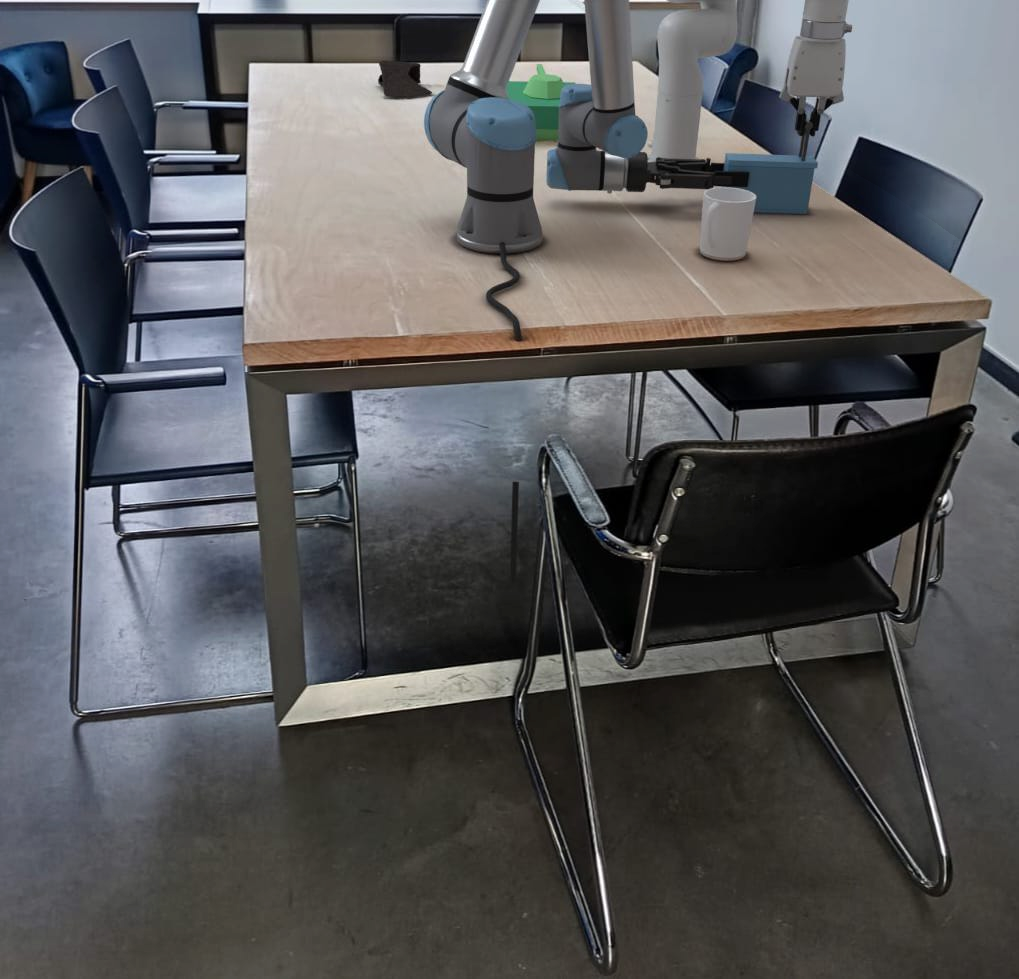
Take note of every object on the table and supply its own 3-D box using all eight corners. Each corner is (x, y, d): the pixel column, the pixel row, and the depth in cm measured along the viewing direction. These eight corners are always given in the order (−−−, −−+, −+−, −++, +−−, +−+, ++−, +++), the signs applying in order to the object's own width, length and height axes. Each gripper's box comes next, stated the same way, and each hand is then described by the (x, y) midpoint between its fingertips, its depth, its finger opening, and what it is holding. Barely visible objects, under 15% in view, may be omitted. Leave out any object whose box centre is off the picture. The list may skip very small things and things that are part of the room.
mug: (713, 241, 197) (720, 184, 192) (757, 252, 193) (765, 194, 187) (681, 256, 190) (687, 197, 185) (726, 268, 185) (733, 208, 180)
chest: (802, 206, 217) (809, 161, 212) (807, 214, 213) (814, 168, 208) (719, 203, 217) (724, 158, 213) (722, 211, 213) (728, 165, 208)
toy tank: (572, 60, 278) (587, 89, 248) (570, 110, 284) (584, 145, 254) (503, 59, 277) (509, 88, 247) (502, 109, 283) (508, 143, 253)
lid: (811, 161, 212) (819, 117, 208) (817, 168, 208) (824, 123, 204) (724, 158, 213) (730, 114, 208) (728, 165, 208) (734, 120, 204)
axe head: (443, 87, 294) (392, 77, 287) (436, 115, 299) (385, 106, 292) (421, 62, 307) (371, 52, 300) (414, 89, 311) (365, 80, 304)
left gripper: (622, 177, 222) (736, 181, 221) (626, 204, 206) (750, 208, 206) (624, 140, 218) (741, 143, 217) (629, 164, 203) (755, 168, 202)
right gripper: (860, 28, 201) (842, 131, 210) (775, 26, 201) (761, 128, 211) (870, 35, 194) (851, 140, 204) (782, 32, 195) (767, 138, 204)
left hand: (745, 175), depth 212 cm, fingers closed on chest, 5 cm apart
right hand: (805, 134), depth 207 cm, fingers closed
